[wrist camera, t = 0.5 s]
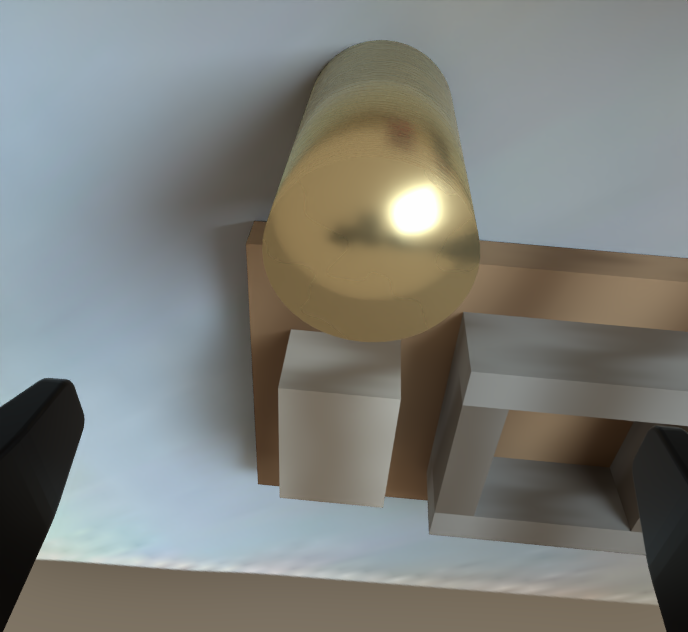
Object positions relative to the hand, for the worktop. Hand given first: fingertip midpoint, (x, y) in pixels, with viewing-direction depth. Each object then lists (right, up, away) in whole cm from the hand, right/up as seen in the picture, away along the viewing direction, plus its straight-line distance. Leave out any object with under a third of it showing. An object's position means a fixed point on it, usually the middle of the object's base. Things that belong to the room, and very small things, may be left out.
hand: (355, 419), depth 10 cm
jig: (+5, -1, +15) cm, 16 cm away
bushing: (+1, +8, +9) cm, 12 cm away
